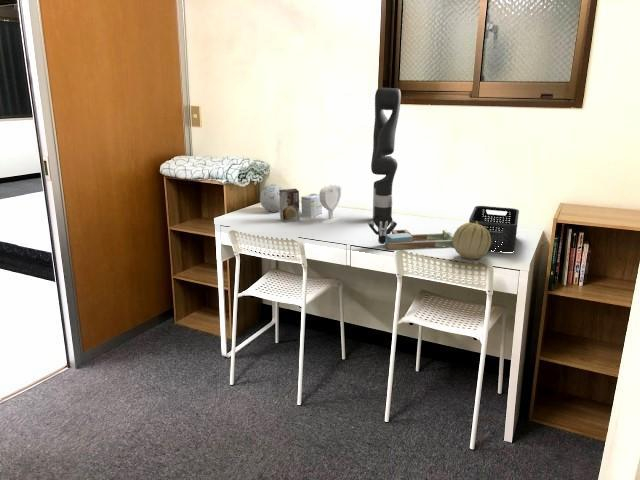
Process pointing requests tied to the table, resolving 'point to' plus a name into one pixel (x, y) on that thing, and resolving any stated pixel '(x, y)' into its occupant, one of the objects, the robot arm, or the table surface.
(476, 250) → the cantaloupe
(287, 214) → the coffee box
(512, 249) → the storage bin
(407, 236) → the block
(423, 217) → the table surface
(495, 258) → the table surface
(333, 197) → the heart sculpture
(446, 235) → the maze
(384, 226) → the robot arm
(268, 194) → the puzzle ball
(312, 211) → the light bulb box
